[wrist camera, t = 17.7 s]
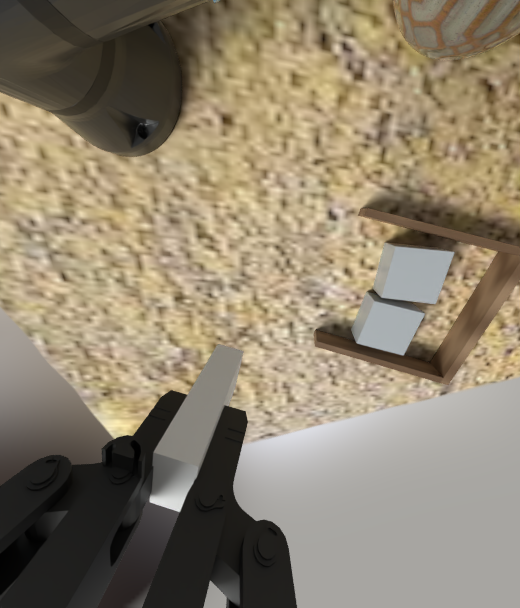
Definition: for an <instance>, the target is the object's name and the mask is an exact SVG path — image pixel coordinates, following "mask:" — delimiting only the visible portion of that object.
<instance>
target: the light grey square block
mask: <svg viewBox="0 0 520 608" xmlns="http://www.w3.org/2000/svg"><path fill="white" fill-rule="evenodd" d="M454 253H455V252H453V251H449V250H445V249H441V248H437V247H428V246H418V245H407V244H396V243H386V242H385V243H384V247H383V251H382V254H381V258H380V262H379V266H378V270H377V274H376V278H375V282H374V285H373V289H374V290H375V291H376V292H377V293H378V295H379V296H380V297H381V298H388V299H397V300H405V301H413V302H422V303H430V304H436V302H437V299H438V296H439V293H440V291H441V288H442V285H443V283H444V280H445V277H446V274H447V272H448V269H449V266H450V263H451V261H452V258H453V255H454Z"/></svg>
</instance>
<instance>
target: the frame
mask: <svg viewBox="0 0 520 608" xmlns="http://www.w3.org/2000/svg"><path fill="white" fill-rule="evenodd" d="M358 216H362V217H366V218H370V219H374V220H378V221H381V222H385V223H389V224H393V225H397V226H401V227H405V228H409V229H413V230H416V231H420V232H424V233H428V234H432V235H436V236H440V237H444V238H448V239H451V240H455V241H459V242H463V243H467V244H471V245H475V246H479V247H483V248H486V249H490V250H494V251H498V253H497V255H496V257H495V258H494V260H493V261H492V263H491V265H490V266H489V268H488V270H487V271H486V273H485V274H484V276H483V278H482V279H481V281H480V283H479V284H478V286H477V287H476V289H475V291H474V292H473V294H472V296H471V297H470V299H469V300H468V302H467V304H466V305H465V307H464V308H463V310H462V312H461V313H460V315H459V317H458V318H457V320H456V321H455V323H454V325H453V326H452V328H451V330H450V331H449V333H448V334H447V336H446V338H445V339H444V341H443V343H442V344H441V346H440V347H439V349H438V351H437V352H436V354H435V355H434V357H433V359H432V360H431V362H426V361H423V360H419V359H416V358H412V357H409V356H405V355H399V354H395V353H392V352H388V351H384V350H380V349H376V348H372V347H369V346H365V345H361V344H357V343H356V341H353V340H350V339H346V338H343V337H339V336H336V335H332V334H329V333H325V332H322V331H318V330H315V332H314V341H315V346H316V347H319V348H323V349H326V350H329V351H333V352H336V353H340V354H343V355H347V356H350V357H353V358H357V359H360V360H364V361H367V362H371V363H374V364H377V365H381V366H384V367H388V368H391V369H395V370H398V371H401V372H405V373H408V374H412V375H415V376H419V377H422V378H425V379H429V380H432V381H436V382H439V383H443V384H446V385H448V384H449V383H450V381H451V380H452V378H453V377H454V375H455V374H456V373H457V371H458V370H459V368H460V367H461V365H462V364H463V362H464V361H465V359H466V358H467V356H468V355H469V353H470V352H471V350H472V349H473V348H474V346H475V345H476V343H477V342H478V340H479V339H480V337H481V336H482V334H483V333H484V331H485V330H486V328H487V327H488V326H489V324H490V323H491V321H492V320H493V318H494V317H495V315H496V314H497V312H498V311H499V309H500V308H501V306H502V305H503V303H504V302H505V301H506V299H507V298H508V296H509V295H510V293H511V292H512V290H513V289H514V287H515V286H516V284H517V283H518V281H519V280H520V247H519V246H515V245H511V244H507V243H503V242H499V241H495V240H491V239H487V238H483V237H479V236H475V235H472V234H468V233H464V232H460V231H456V230H452V229H448V228H444V227H440V226H436V225H432V224H428V223H424V222H421V221H417V220H413V219H409V218H405V217H401V216H397V215H393V214H389V213H385V212H381V211H377V210H373V209H370V208H362V209H360V212H359V214H358Z"/></svg>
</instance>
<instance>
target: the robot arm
mask: <svg viewBox="0 0 520 608" xmlns="http://www.w3.org/2000/svg"><path fill="white" fill-rule="evenodd" d="M208 1H210V0H0V92H1V93H3V94H6V95H8V96H11V97H13V98H16V99H19V100H21V101H24V102H26V103H29V104H31V105H34V106H36V107H39V108H42V109H44V110H46V111H49V112H51V113H53V114H54V115H55V116H56V117H58V118H59V119H60V120H61V121H63V122H64V123H65V124H66V125H68V126H69V127H70V128H71V129H72V130H74V131H75V132H76V133H77V134H79V135H80V136H81V137H82V138H83V139H85V140H86V141H88V142H89V143H90V144H92V145H94V146H96V147H98V148H100V149H102V150H104V151H107V152H110V153H113V154H117V155H120V156H126V157H137V156H142V155H145V154H148V153H150V152H152V151H153V150H155V149H156V148H158V147H159V146H160V145H161V144H162V143H163V142H164V141H165V140H166V139H167V137H168V136H169V134H170V133H171V131H172V129H173V127H174V125H175V123H176V120H177V118H178V114H179V111H180V106H181V99H182V76H181V68H180V63H179V59H178V55H177V52H176V49H175V46H174V44H173V41H172V39H171V37H170V35H169V33H168V31H167V29H166V28H165V26H164V25H163V23H162V22H161V20H162V19H164V18H167V17H169V16H172V15H175V14H177V13H180V12H182V11H185V10H187V9H190V8H192V7H195V6H198V5H200V4H203V3H205V2H208ZM218 1H220V0H213V2H214V3H216V2H218ZM243 352H244V351H242V350H238V349H235V348H231V347H227V346H224V345H220V344H218V345H217V346H216V348H215V350H214V352H213V353H212V355H211V357H210V358H209V360H208V362H207V363H206V365H205V367H204V368H203V370H202V372H201V373H200V375H199V377H198V378H197V380H196V382H195V383H194V385H193V387H192V388H191V390H190V392H189V393H188V395H186V394H183V393H179V392H176V391H172V390H171V391H170V392H168V393H167V394H165V395H164V396H162V397H161V398H160V399H159V401H158V402H157V404H156V405H155V406H154V409H152V410H151V412H150V413H149V415H148V417H146V419H145V420H144V421H143V423H142V424H141V426H140V427H139V428H138V430H137V431H136V432H135V434H134V435H133V436H129V435H126V436H122V437H118V438H116V439H114V440H112V441H110V442H108V443H107V444H106V445H105V446H104V447H103V448H102V462H101V463H96V464H83V465H71V462H70V461H69V460H68V458H66V457H64V456H61V455H51V456H47V457H44V458H41V459H39V460H37V461H35V462H33V463H32V464H30V465H28V466H27V467H26V468H24V469H23V470H22V471H20V472H19V473H17V474H16V475H15V476H13V477H12V478H11V479H9V480H8V481H6V482H5V483H4V484H2V485H1V486H0V608H97V606H98V604H99V602H100V600H101V598H102V596H103V594H104V592H105V591H106V589H107V586H108V585H109V583H110V581H111V579H112V577H113V575H114V573H115V571H116V568H117V567H118V565H119V563H120V561H121V559H122V557H123V555H124V553H125V551H126V549H127V547H128V545H129V543H130V541H131V539H132V537H133V535H134V533H135V531H136V529H137V527H138V525H139V523H140V520H141V517H142V512H143V508H144V506H145V504H146V502H147V500H148V498H149V496H150V502H151V503H154V504H157V505H160V506H163V507H166V508H170V509H172V510H176V511H179V512H180V513H179V516H178V518H177V521H176V523H175V526H174V528H173V531H172V533H171V536H170V539H169V541H168V543H167V546H166V549H165V551H164V554H163V556H162V559H161V561H160V564H159V566H158V569H157V571H156V574H155V576H154V579H153V581H152V584H151V586H150V589H149V592H148V594H147V597H146V599H145V602H144V604H143V607H142V608H203V606H204V602H205V598H206V594H207V590H208V586H209V582H210V580H211V581H212V582H213V583H214V584H215V585H216V586H217V587H218V588H219V589H220V590H221V592H223V594H225V595H226V596H227V604H226V605H227V606H226V608H297V605H296V598H295V591H294V584H293V577H292V569H291V562H290V555H289V548H288V545H287V541H286V538H285V536H284V534H283V532H282V531H281V529H280V528H279V527H278V526H277V525H275V524H274V523H273V522H271V521H267V520H260V521H255V520H254V519H253V518H252V517H250V516H249V515H248V514H247V513H246V512H244V511H243V510H242V509H241V507H240V506H239V505H238V503H237V501H236V499H235V496H234V492H233V481H234V477H235V473H236V469H237V464H238V460H239V456H240V452H241V448H242V444H243V440H244V436H245V431H246V427H247V423H248V421H247V416H246V411H242V410H239V409H236V408H232V407H229V403H230V401H231V398H232V395H233V392H234V389H235V386H236V382H237V377H238V373H239V369H240V365H241V360H242V356H243Z"/></svg>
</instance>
